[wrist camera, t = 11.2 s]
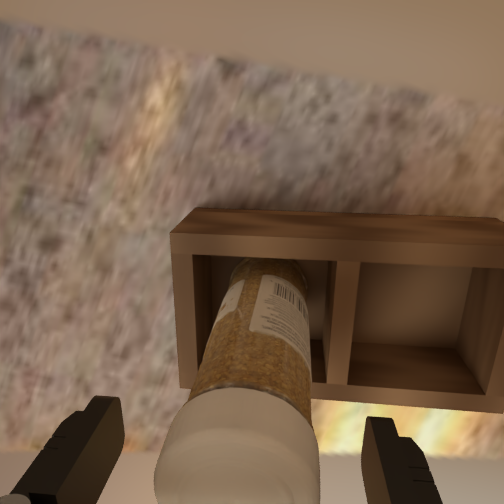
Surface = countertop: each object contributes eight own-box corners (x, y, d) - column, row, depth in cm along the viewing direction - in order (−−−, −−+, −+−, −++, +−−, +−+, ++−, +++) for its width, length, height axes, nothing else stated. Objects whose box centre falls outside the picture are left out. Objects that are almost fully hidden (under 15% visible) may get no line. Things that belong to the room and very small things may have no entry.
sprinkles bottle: (217, 266, 23) (116, 461, 10) (290, 236, 22) (278, 415, 9) (250, 331, 24) (197, 576, 12) (321, 306, 23) (348, 547, 10)
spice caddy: (200, 338, 26) (179, 388, 21) (195, 207, 23) (169, 232, 18) (464, 356, 24) (503, 413, 20) (496, 218, 21) (549, 248, 17)
